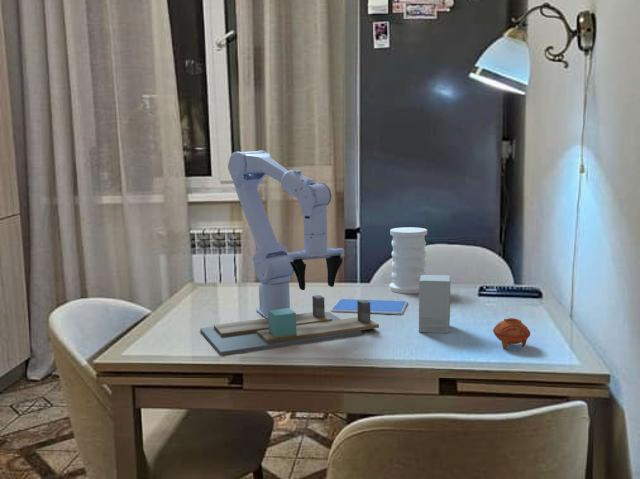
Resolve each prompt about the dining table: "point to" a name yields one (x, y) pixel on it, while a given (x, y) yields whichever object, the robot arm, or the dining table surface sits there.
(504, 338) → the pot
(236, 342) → the lane board
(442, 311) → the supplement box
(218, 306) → the dining table surface
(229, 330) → the strip
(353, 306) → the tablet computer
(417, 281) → the decorative container
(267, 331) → the strip
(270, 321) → the teal block
